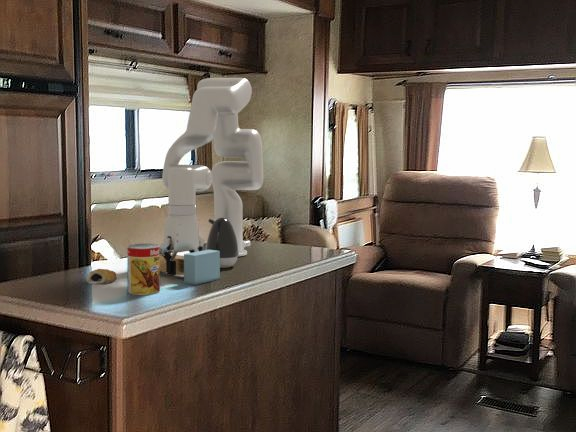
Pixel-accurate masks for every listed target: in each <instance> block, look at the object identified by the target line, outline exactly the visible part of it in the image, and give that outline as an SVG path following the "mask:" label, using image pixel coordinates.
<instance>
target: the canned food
mask: <svg viewBox="0 0 576 432" xmlns="http://www.w3.org/2000/svg"><path fill="white" fill-rule="evenodd" d="M159 246H160V245H159V244H157V243H150V242H149V243H144V242H143V243H133V244H129V245H127V248H128V257H127V281H128V282H127V285H128V286H127V287H128V288H127V289H128V290H127V291H128V294H130V295H135V296H149V295H150V296H151V295H157V294H158V293H160V290H161V288H160V285H161V282H160V280H161V279H160V277H161V276H160V275H161V274H160V273H161V272H159Z"/></svg>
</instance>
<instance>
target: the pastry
mask: <svg viewBox="0 0 576 432" xmlns="http://www.w3.org/2000/svg"><path fill="white" fill-rule="evenodd" d="M116 279H117V273H116V272H115V271H113V270H109V269H106V268H97V269H94V270H91V271H90V272H89V273H88V275H87V277H86V278H85V282H87V283H88V284H89V285H91V284H92V285H106V284H107V283H108V284H111V283H112V282H115V280H116ZM108 284H107V285H108Z"/></svg>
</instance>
